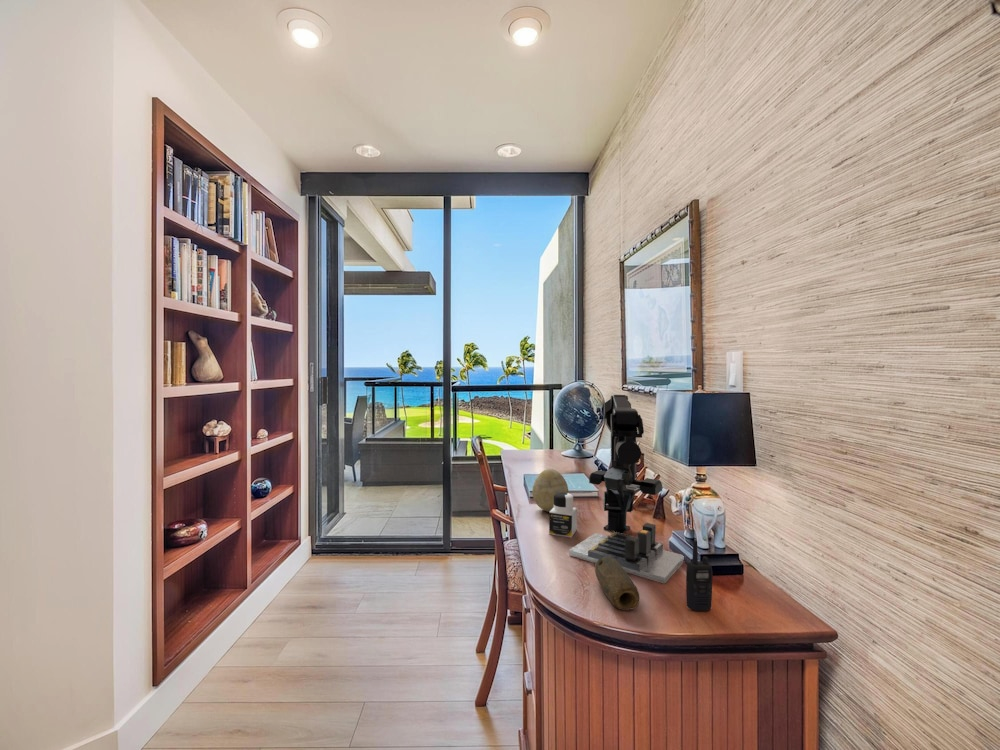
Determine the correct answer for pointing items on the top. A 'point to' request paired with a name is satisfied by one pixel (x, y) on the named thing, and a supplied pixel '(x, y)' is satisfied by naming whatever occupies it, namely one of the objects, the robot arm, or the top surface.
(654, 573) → the breaker panel
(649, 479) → the robot arm
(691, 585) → the two-way radio
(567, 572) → the top surface
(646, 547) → the block
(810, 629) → the top surface
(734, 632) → the top surface
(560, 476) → the fossilized egg
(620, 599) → the stone weight
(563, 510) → the medicine bottle
